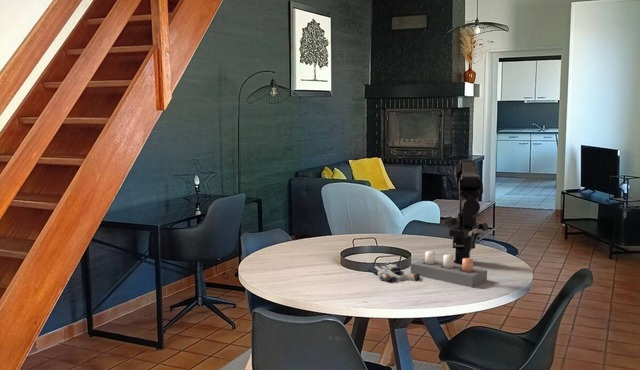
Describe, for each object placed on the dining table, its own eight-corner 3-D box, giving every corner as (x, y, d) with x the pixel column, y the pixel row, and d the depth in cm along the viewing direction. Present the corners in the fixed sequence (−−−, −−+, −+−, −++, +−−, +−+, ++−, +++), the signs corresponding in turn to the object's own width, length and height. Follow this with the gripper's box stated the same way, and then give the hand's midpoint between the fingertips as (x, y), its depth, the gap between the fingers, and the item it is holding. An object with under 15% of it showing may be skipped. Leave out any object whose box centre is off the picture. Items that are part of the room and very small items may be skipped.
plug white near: (428, 263, 239) (428, 250, 238) (436, 264, 236) (437, 252, 236) (422, 265, 236) (423, 252, 236) (431, 266, 234) (431, 253, 233)
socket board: (426, 268, 244) (426, 258, 244) (486, 280, 227) (487, 270, 226) (410, 273, 236) (410, 263, 236) (472, 287, 219) (472, 276, 218)
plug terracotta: (465, 270, 228) (465, 257, 228) (474, 272, 226) (475, 259, 225) (460, 272, 226) (460, 259, 225) (469, 274, 223) (469, 261, 222)
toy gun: (423, 282, 228) (385, 286, 224) (401, 266, 246) (366, 270, 242) (423, 274, 227) (385, 278, 223) (401, 260, 246) (366, 263, 242)
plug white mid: (446, 266, 234) (446, 253, 233) (455, 268, 231) (455, 255, 230) (441, 268, 231) (441, 255, 230) (450, 270, 228) (450, 257, 228)
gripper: (462, 204, 235) (461, 244, 237) (435, 211, 221) (435, 253, 223) (489, 208, 227) (487, 249, 229) (463, 215, 214) (462, 258, 216)
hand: (467, 252), depth 225 cm, fingers closed
